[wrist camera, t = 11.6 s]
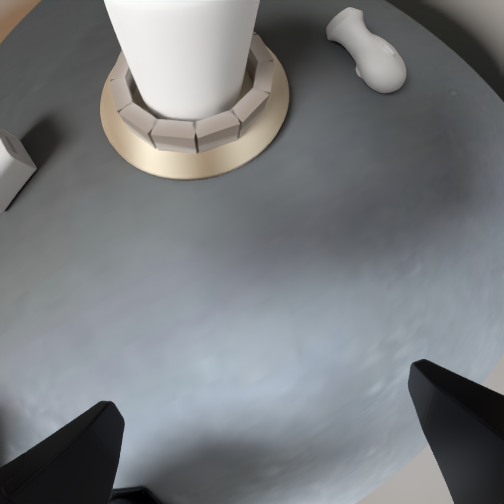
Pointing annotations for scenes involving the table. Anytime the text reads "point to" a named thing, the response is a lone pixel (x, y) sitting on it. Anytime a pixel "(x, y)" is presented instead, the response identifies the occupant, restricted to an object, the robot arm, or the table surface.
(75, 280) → the table surface
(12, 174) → the usb wall charger
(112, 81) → the collar stand
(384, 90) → the smooth white sculpture
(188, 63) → the can
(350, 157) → the table surface
